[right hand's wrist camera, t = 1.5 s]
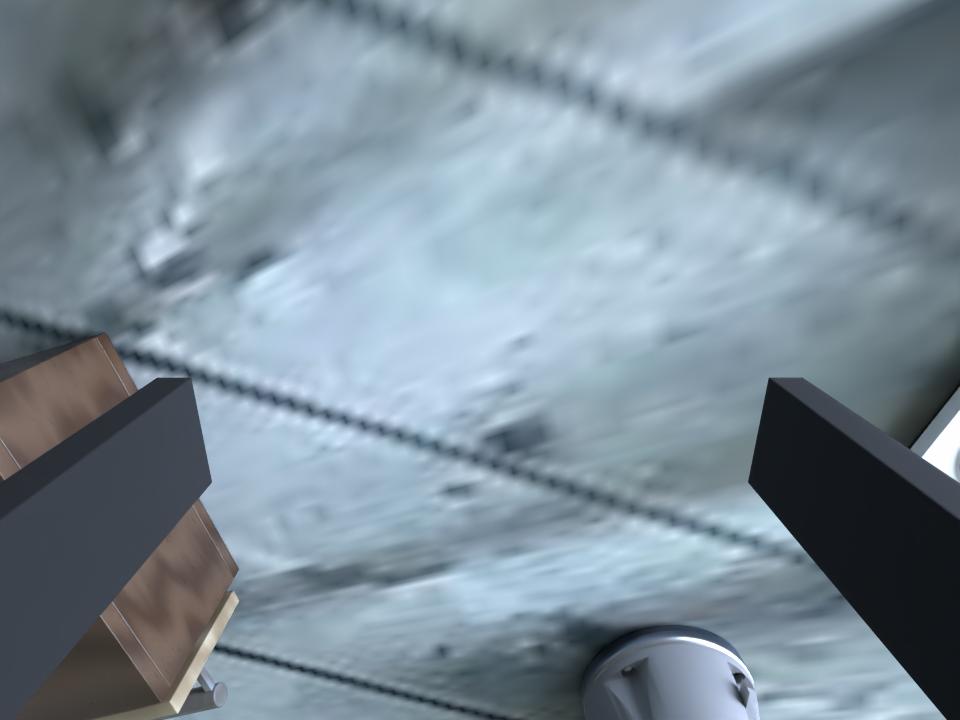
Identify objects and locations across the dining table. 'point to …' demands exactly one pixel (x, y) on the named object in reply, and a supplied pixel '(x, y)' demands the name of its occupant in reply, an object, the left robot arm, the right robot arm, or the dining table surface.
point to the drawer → (190, 676)
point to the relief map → (943, 439)
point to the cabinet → (161, 579)
